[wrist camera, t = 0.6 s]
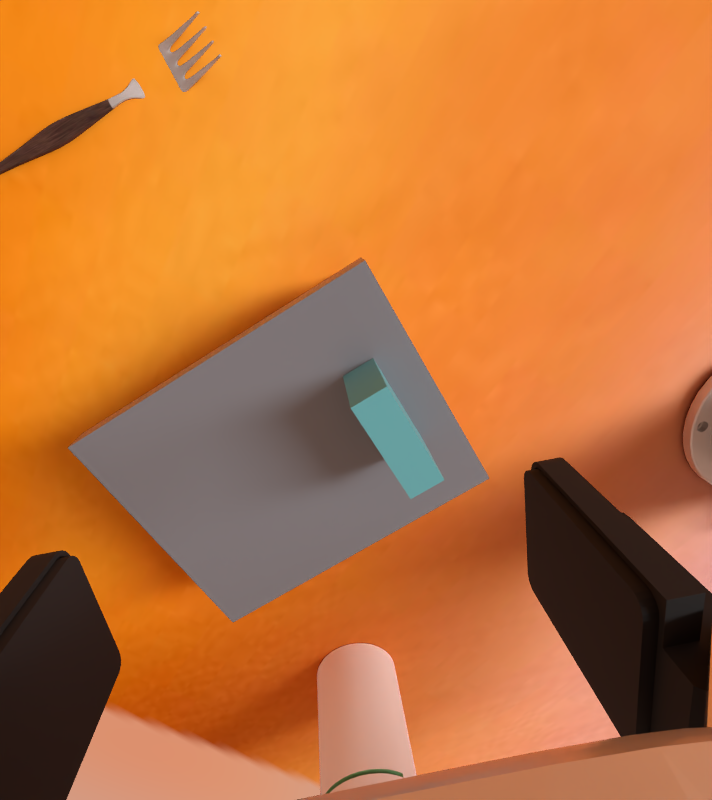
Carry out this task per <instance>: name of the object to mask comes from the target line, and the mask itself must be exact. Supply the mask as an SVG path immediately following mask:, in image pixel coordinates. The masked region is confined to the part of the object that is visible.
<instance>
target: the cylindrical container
mask: <svg viewBox="0 0 712 800" xmlns="http://www.w3.org/2000/svg"><path fill="white" fill-rule="evenodd" d="M317 692H318V727H319V762H320V795H322V794H327V793H332V792H337V791H342V790H347V789H352V788H357V787H362V786H367V785H372V784H377V783H382V782H387V781H392V780H397V779H402V778H407V777H412V776H417V775H416V770H415V765H414V760H413V755H412V750H411V745H410V740H409V736H408V731H407V726H406V720H405V715H404V710H403V705H402V700H401V695H400V690H399V685H398V680H397V675H396V670H395V665H394V662H393V659H392V658H391V656H390V655H389V654H388V653H387V652H386V651H385V650H383V649H382V648H380V647H378V646H375V645H372V644H366V643H355V644H348V645H345V646H342V647H340V648H337V649H335V650H334V651H332V652H331V653H329V654H328V655H327V656H326V657H325V658H324V659H323V661H322V662H321V663H320V666H319V668H318V672H317Z"/></svg>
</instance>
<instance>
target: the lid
mask: <svg viewBox="0 0 712 800" xmlns="http://www.w3.org/2000/svg"><path fill="white" fill-rule="evenodd" d="M68 449H69V450H70V451H71V452H72V453H73V454H74V455H75V456H76V457H77V458H78V459H79V460H80V461H81V462H82V463H83V465H84V466H85V467H86V468H87V469H88V470H89V471H90V472H91V473H92V474H93V475H94V476H95V477H96V478H97V479H98V480H99V481H100V483H101V484H102V485H103V486H104V487H105V488H106V489H107V490H108V491H109V492H110V493H111V494H112V495H113V496H114V497H115V498H116V499H117V500H118V502H119V503H120V504H121V505H122V506H123V507H124V508H125V509H126V510H127V511H128V512H129V513H130V514H131V515H132V516H133V517H134V518H135V520H136V521H137V522H138V523H139V524H140V525H141V526H142V527H143V528H144V529H145V530H146V531H147V532H148V533H149V534H150V535H151V536H152V537H153V539H154V540H155V541H156V542H157V543H158V544H159V545H160V546H161V547H162V548H163V549H164V550H165V551H166V552H167V553H168V554H169V555H170V556H171V558H172V559H173V560H174V561H175V562H176V563H177V564H178V565H179V566H180V567H181V568H182V569H183V570H184V571H185V572H186V573H187V574H188V576H189V577H190V578H191V579H192V580H193V581H194V582H195V583H196V584H197V585H198V586H199V587H200V588H201V589H202V590H203V591H204V592H205V593H206V595H207V596H208V597H209V598H210V599H211V600H212V601H213V602H214V603H215V604H216V605H217V606H218V607H219V608H220V609H221V610H222V611H223V613H224V614H225V615H226V616H227V617H228V618H229V619H230V620H231V621H232V622H235V621H236V620H238V619H240V618H242V617H244V616H245V615H247V614H249V613H251V612H252V611H254V610H256V609H258V608H260V607H261V606H263V605H265V604H267V603H268V602H270V601H272V600H274V599H276V598H277V597H279V596H281V595H283V594H284V593H286V592H288V591H290V590H292V589H293V588H295V587H297V586H299V585H300V584H302V583H304V582H306V581H308V580H309V579H311V578H313V577H315V576H316V575H318V574H320V573H322V572H324V571H325V570H327V569H329V568H331V567H332V566H334V565H336V564H338V563H340V562H341V561H343V560H345V559H347V558H348V557H350V556H352V555H354V554H356V553H357V552H359V551H361V550H363V549H364V548H366V547H368V546H370V545H372V544H373V543H375V542H377V541H379V540H381V539H382V538H384V537H386V536H388V535H389V534H391V533H393V532H395V531H397V530H398V529H400V528H402V527H404V526H405V525H407V524H409V523H411V522H413V521H414V520H416V519H418V518H420V517H421V516H423V515H425V514H427V513H429V512H430V511H432V510H434V509H436V508H437V507H439V506H441V505H443V504H445V503H446V502H448V501H450V500H452V499H453V498H455V497H457V496H459V495H461V494H462V493H464V492H466V491H468V490H469V489H471V488H473V487H475V486H477V485H478V484H480V483H482V482H484V481H485V480H487V479H489V477H488V475H487V473H486V471H485V470H484V468H483V466H482V464H481V463H480V461H479V459H478V457H477V456H476V454H475V452H474V450H473V449H472V447H471V445H470V443H469V442H468V440H467V438H466V436H465V435H464V433H463V431H462V429H461V428H460V426H459V424H458V422H457V421H456V419H455V417H454V415H453V414H452V412H451V410H450V408H449V407H448V405H447V403H446V401H445V400H444V398H443V396H442V394H441V393H440V391H439V389H438V387H437V386H436V384H435V382H434V380H433V379H432V377H431V375H430V373H429V372H428V370H427V368H426V366H425V365H424V363H423V361H422V359H421V358H420V356H419V354H418V352H417V351H416V349H415V347H414V345H413V344H412V342H411V340H410V338H409V337H408V335H407V333H406V331H405V330H404V328H403V326H402V324H401V323H400V321H399V319H398V317H397V316H396V314H395V312H394V310H393V309H392V307H391V305H390V303H389V302H388V300H387V298H386V296H385V294H384V293H383V291H382V289H381V287H380V286H379V284H378V282H377V280H376V279H375V277H374V275H373V273H372V272H371V270H370V268H369V266H368V265H367V263H366V261H365V260H364V259H362V258H359V259H358V260H356V261H354V262H353V263H351V264H350V265H348V266H347V267H345V268H343V269H342V270H340V271H339V272H337V273H335V274H334V275H332V276H331V277H329V278H328V279H326V280H324V281H323V282H321V283H320V284H318V285H316V286H315V287H313V288H312V289H310V290H309V291H307V292H305V293H304V294H302V295H301V296H299V297H297V298H296V299H294V300H293V301H291V302H290V303H288V304H286V305H285V306H283V307H282V308H280V309H278V310H277V311H275V312H274V313H272V314H271V315H269V316H267V317H266V318H264V319H263V320H261V321H259V322H258V323H256V324H255V325H253V326H252V327H250V328H248V329H247V330H245V331H244V332H242V333H240V334H239V335H237V336H236V337H234V338H233V339H231V340H229V341H228V342H226V343H225V344H223V345H221V346H220V347H218V348H217V349H215V350H214V351H212V352H210V353H209V354H207V355H206V356H204V357H202V358H201V359H199V360H198V361H196V362H195V363H193V364H191V365H190V366H188V367H187V368H185V369H183V370H182V371H180V372H179V373H177V374H176V375H174V376H172V377H171V378H169V379H168V380H166V381H164V382H163V383H161V384H160V385H158V386H157V387H155V388H153V389H152V390H150V391H149V392H147V393H145V394H144V395H142V396H141V397H139V398H138V399H136V400H134V401H133V402H131V403H130V404H128V405H126V406H125V407H123V408H122V409H120V410H119V411H117V412H115V413H114V414H112V415H111V416H109V417H107V418H106V419H104V420H103V421H101V422H100V423H98V424H96V425H95V426H93V427H92V428H90V429H88V430H87V431H85V432H84V433H82V434H81V435H80V436H79V437H78V438H77V439H76V440H75V441H74V442H73V443H72V444H71V445H70V446H69V447H68Z"/></svg>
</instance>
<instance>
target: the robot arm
mask: <svg viewBox="0 0 712 800" xmlns="http://www.w3.org/2000/svg"><path fill="white" fill-rule="evenodd" d="M683 448H684V452H685V456H686V459H687V461H688V463H689V465H690V466H691V468H692V469H693V470H694V471H695V473H696V474H697V475H698V476H699V477H701V478H702V479H704V480H705V481H707V482H708V483H709V484H711V485H712V376H711V377H710V378H709V379H708V380H707V381H706V383H705V384H704V385H703V387H702V388H701V389H700V390H699V392H698V394H697V395H696V397H695V399H694V401H693V402H692V404H691V406H690V409H689V411H688V414H687V417H686V420H685V425H684V430H683ZM524 487H525V512H526V537H527V562H528V577H529V581H530V584H531V587H532V590H533V591H534V593H535V595H536V597H537V598H538V600H539V602H540V603H541V605H542V607H543V608H544V610H545V612H546V613H547V615H548V617H549V618H550V620H551V621H552V623H553V625H554V626H555V628H556V630H557V631H558V633H559V635H560V636H561V638H562V640H563V641H564V643H565V645H566V646H567V648H568V650H569V651H570V653H571V655H572V656H573V658H574V660H575V661H576V663H577V665H578V666H579V668H580V670H581V671H582V673H583V675H584V676H585V678H586V679H587V681H588V683H589V684H590V686H591V688H592V689H593V691H594V693H595V694H596V696H597V698H598V699H599V701H600V703H601V704H602V706H603V708H604V709H605V711H606V713H607V714H608V716H609V718H610V719H611V721H612V723H613V724H614V726H615V728H616V729H617V731H618V733H619V734H620V736H621V737H618V738H612V739H606V740H601V741H595V742H590V743H584V744H578V745H573V746H567V747H562V748H556V749H550V750H545V751H539V752H534V753H528V754H523V755H518V756H513V757H508V758H503V759H498V760H493V761H488V762H483V763H478V764H473V765H468V766H462V767H457V768H452V769H447V770H442V771H437V772H432V773H427V774H422V775H417V776H412V777H407V778H402V779H397V780H392V781H387V782H382V783H377V784H372V785H367V786H362V787H357V788H352V789H347V790H342V791H337V792H332V793H327V794H322V795H317V796H313V797H308V798H303V799H298V800H712V593H711V592H710V591H708V590H707V589H706V588H705V587H704V586H703V585H702V584H701V583H700V582H699V581H698V580H697V579H696V578H694V577H693V576H692V575H691V574H690V573H689V572H688V571H687V570H686V569H685V568H684V567H683V566H682V565H680V564H679V563H678V562H677V561H676V560H675V559H674V558H673V557H672V556H671V555H670V554H669V553H668V552H667V551H665V550H664V549H663V548H662V547H661V546H660V545H659V544H658V543H657V542H656V541H655V540H654V539H653V538H651V537H650V536H649V535H648V534H647V533H646V532H645V531H644V530H643V529H642V528H641V527H640V526H639V525H637V524H636V523H635V522H634V521H633V520H632V519H631V518H630V517H629V516H627V515H626V514H624V513H621V512H620V511H618V510H617V509H616V508H615V507H614V506H613V505H612V504H611V503H610V502H609V501H608V500H607V499H606V498H605V497H604V496H603V495H601V494H600V493H599V492H598V491H597V490H596V489H595V488H594V487H593V486H592V485H591V484H590V483H589V482H588V481H587V480H586V479H584V478H583V477H582V476H581V475H580V474H579V473H578V472H577V471H576V470H575V469H574V468H573V467H572V466H571V465H570V464H569V463H568V462H566V461H565V460H564V459H563V458H555V459H550V460H544V461H539V462H534V463H533V464H532V467H531V470H529V471H526V472H525V474H524ZM120 666H121V657H120V653H119V650H118V648H117V645H116V643H115V641H114V639H113V636H112V634H111V632H110V629H109V627H108V625H107V623H106V620H105V618H104V616H103V614H102V611H101V609H100V607H99V604H98V602H97V600H96V598H95V595H94V593H93V591H92V589H91V586H90V584H89V582H88V579H87V577H86V575H85V573H84V570H83V568H82V566H81V564H80V561H79V560H78V558H77V557H75V556H70V555H69V554H68V553H67V552H66V551H56V552H51V553H46V554H40V555H35V556H32V557H31V558H29V559H28V560H27V561H26V563H25V564H24V565H23V566H22V568H21V569H20V570H19V571H18V572H17V574H16V575H15V576H14V577H13V579H12V580H11V581H10V582H9V583H8V585H7V586H6V587H5V588H4V589H3V591H2V592H1V593H0V800H66V799H67V796H68V794H69V792H70V789H71V787H72V785H73V782H74V780H75V777H76V775H77V772H78V770H79V768H80V765H81V763H82V761H83V758H84V756H85V753H86V751H87V749H88V746H89V744H90V741H91V739H92V737H93V734H94V732H95V729H96V727H97V724H98V722H99V720H100V717H101V715H102V712H103V710H104V708H105V705H106V703H107V700H108V698H109V696H110V693H111V691H112V688H113V686H114V684H115V681H116V679H117V676H118V674H119V671H120Z"/></svg>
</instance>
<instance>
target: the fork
mask: <svg viewBox="0 0 712 800" xmlns="http://www.w3.org/2000/svg"><path fill="white" fill-rule="evenodd" d="M198 14H199V12H198V11H197V12H196V13H195V14H194V15H193V16H192V17H191V18H190V19H189V20H188V21H187V22H186V23H184V24H183V25H182V26H181V27H180V28H179V29H178V30H177V31H175V32H174V33H173V34H172V35H171V36H170V37H168V38H167V39H166V40H165V41H163V42H162V43H160V44H159V46H158V47H159V50H160V52H161V53H162V55H163V57H164V59H165V61H166V63H167V65H168V66H169V68H170V70H171V72H172V74H173V76H174V78H175V80H176V81H177V83H178V85H179V87H180V89H181V90H182V91H183V92H186V91H188V90H189V89H190V88H191V87H192V86H193V85H194V84H195V83H196V82H197V81H198V80H199V79H200V78H201V77H202V76H203V75H204V74H205V73H206V72H207V71H208V70H209V69H210V68H211V67H212V66H213V64H214V63H215V62H216V61H217V60H218V59H219V58H220V57H221V55H220V54H219V55H218V56H217V57H216V58H215V59H214V60H213V61H211V62H210V63H209V64H207V65H206V66H205V67H204V68H202V69H201V70H200V71H199V72H197V73H196V74H195V75H193V76H192V77H191V78H189V79H185V77H184V76H185V74H186V72H187V71H188V70H189V69H190V68H191V67H192V66H193V65H194V64H195V63H196V62H197V60H198V59H199V58H200V57H201V56H202V55H203V54H204V53H205V52H206V51H207V49H208V48H209V47H210V46H211V45H212V44H213V42H214V41H211V42H210V43H209V44H208V45H207V46H205V47H204V48H203V49H202V50H201V51H199V52H198V53H197V54H196V55H195V56H193V57H192V58H191V59H190V60H188V61H187V62H186V63H184V64H183V65H181V66H178V65H177V62H178V60H179V59H180V58H181V56H182V55H183V54H184V53H185V52H186V51H187V50H188V49H189V48H190V47H191V45H192V44H193V43H194V42H195V41H196V40H197V39H198V37H199V36H200V35H201V34H202V33H203V31H204V30H205V29H206V26H205V27H203V28H202V29H201V30H200V31H199V32H198V33H197V34H196V35H194V36H193V37H192V38H191V39H190V40H189V41H187V42H186V43H185V44H184V45H183V46H182V47H180V48H179V49H178V50H176V51H175V52H173V53H172V52H170V48H171V46H172V45H173V44H174V42H175V41H176V40H177V39H178V38H179V37H180V36H181V35H182V33H183V32H184V31H185V30H186V29H187V27H188V26H189V25H190V24H191V23H192V21H193V20H194V19H195V18H196V17H197V15H198ZM134 98H145V95H144V92H143V90H142V89H141V87H140V85H139V84H138V82H137V81H136V80H135V79H132V81H131V82H130V84H129V85H128V87H127V88H126V89H125V90H124V91H123V92H121V93H120V94H118V95H116V96H114V97H112V98H110V99H107V100H105V101H103V102H100V103H98V104H95V105H93V106H90V107H88V108H86V109H83V110H81V111H78V112H76V113H73V114H71V115H69V116H66V117H64V118H62V119H60V120H58V121H56V122H54V123H53V124H51V125H49V126H48V127H46V128H45V129H43V130H42V131H41V132H39V133H38V134H37V135H35V136H34V137H33V138H32V139H30V140H29V141H28V142H27V143H25V144H24V145H23V146H21V147H20V148H19V149H18V150H16V151H15V152H14V153H12V154H11V155H10V156H8V157H7V158H5V159H4V160H3V161H1V162H0V174H2V173H4V172H6V171H8V170H10V169H13V168H15V167H17V166H19V165H21V164H24V163H26V162H28V161H31V160H33V159H35V158H38V157H40V156H43V155H45V154H47V153H50V152H52V151H54V150H56V149H58V148H60V147H62V146H64V145H66V144H67V143H69V142H71V141H72V140H74V139H75V138H76V137H78V136H79V135H80V134H82V133H83V132H84V131H86V130H87V129H88V128H90V127H91V126H92V125H93V124H95V123H96V122H97V121H99V120H100V119H101V118H102V117H104V116H105V115H106V114H107V113H109V112H110V111H111V110H113V109H114V108H115V107H117V106H118V105H119V104H121V103H122V102H124V101H126V100H129V99H134Z"/></svg>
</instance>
